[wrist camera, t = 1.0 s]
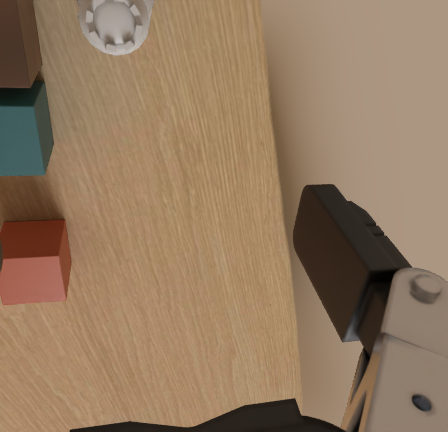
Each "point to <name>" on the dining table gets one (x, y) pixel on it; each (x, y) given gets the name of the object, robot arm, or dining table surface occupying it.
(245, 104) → the dining table surface
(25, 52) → the walnut block
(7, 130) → the teal block
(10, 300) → the terracotta block
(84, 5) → the rook chess piece
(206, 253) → the dining table surface
